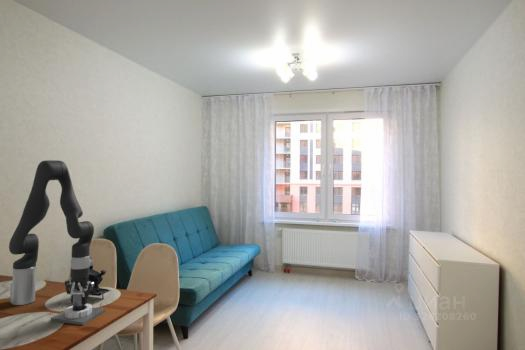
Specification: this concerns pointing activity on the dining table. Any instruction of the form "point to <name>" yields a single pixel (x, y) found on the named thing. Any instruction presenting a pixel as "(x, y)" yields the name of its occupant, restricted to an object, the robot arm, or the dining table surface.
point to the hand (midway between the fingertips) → (79, 303)
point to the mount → (78, 315)
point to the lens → (77, 300)
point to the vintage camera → (96, 280)
